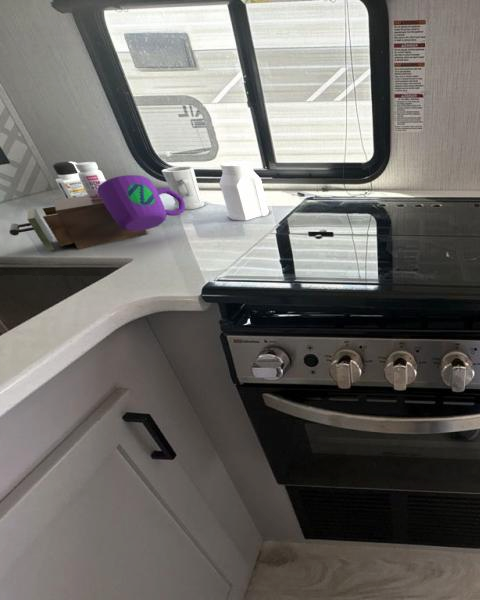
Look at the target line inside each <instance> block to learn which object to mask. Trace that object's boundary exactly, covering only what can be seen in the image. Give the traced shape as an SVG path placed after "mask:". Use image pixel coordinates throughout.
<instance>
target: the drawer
mask: <svg viewBox="0 0 480 600" xmlns="http://www.w3.org/2000/svg"><path fill="white" fill-rule="evenodd" d="M41 209H42V211H43V212H44V215H42V217H41V216H40V214H39V212H38V211H37V209H36V207H31V208H27V217H26V219H27V221H28V222H26V223H20V224H18V223H11V224H10V227H9V234H10V235H11V236H19V234H20V233H26V232H31V231H34V232H35V234H36V236H37V237H38V238H39V240H40V242H41V243H42V245H43V246H44V248H45V250H46V251H47V252H50V251H54V250H55V246H54V239H53V238H55V240H56V241H57V243H58V244H59V246H60V247H63V246H67V245H72V244H75V243H74V241H73V240H72V238H71V236H70V234H69V233H68V231H67V229H66V227H65V226H64V224H63V222H62V221H61V219H60V217H59V215H58V214H57V212H56V208H55V205H52V206H46V207H42V208H41ZM42 218H43V219H42ZM43 220H44V221H43ZM45 223H46V224H45ZM47 226H48V227H47ZM48 228H49V229H50V230H49V229H48ZM50 231H51V232H50ZM51 233H52V234H53V236H52V234H51Z"/></svg>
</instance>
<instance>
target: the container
mask: <svg viewBox="0 0 480 600" xmlns="http://www.w3.org/2000/svg"><path fill="white" fill-rule="evenodd" d="M76 163H77V162H76V161H60V162H55V163H53V165H52V168H53V169H54V171H55V173H56V175H57V177H58V178H56V179H55V182H56V184H57V186H58V187H59V190H60V192H61V193H62V195H63V197H64V199H67V198H73V197H80V196H87V195H88V194H87V192H86V190H85V188H84V186H83V184H82V182H81V180H80V178H79V176H78V173H79V172H80V171H78V169H77V168H76V166H75V164H76Z"/></svg>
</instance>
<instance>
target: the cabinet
mask: <svg viewBox="0 0 480 600" xmlns="http://www.w3.org/2000/svg"><path fill="white" fill-rule="evenodd" d="M53 203H54V206H55V208H56V212H57V214H58V215H59V217H60V219H61V221H62V222H63V224H64V226H65V227H66V229H67V231H68V233H69V234H70V236H71V238H72V240H73V241H74V243H73V244H74V245H75V247H76V248H77V249H78V250H79V249H85V248H89V247H92V246H93V247H95V246H98V245H102V244H107V243H112V242H116V241H117V242H118V241H121V240H125V239H126V240H127V239H129V238H134V237H138V236H139V237H140V236H144V235H147V234H148V233H147V230H141V231H129V230H125V229H123V228H121V227H120V226H119V225H118V224H117V223H116V222H115V220H114V219H113V218H112V216H111V215H110V213H109V211H108V210H107V208H106V206H105V205H104V203H103V201H102V199H100V200H92V199H90V198H89V196H88V195H87V196H80V197H73V198H67V199H66V198H60V199H54V200H53Z"/></svg>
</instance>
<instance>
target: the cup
mask: <svg viewBox="0 0 480 600" xmlns="http://www.w3.org/2000/svg"><path fill="white" fill-rule="evenodd" d="M161 173H162V175H163V177H164V179H165V181H166V183H167V186H168V189H170V190H172V191H174V192H175V193H177V194H178V195H180V196H181V197H182V198H183V200H184V203H185V210H184V211H189V210H196V209H199V208H203V207H204V206H205V204H206V203H205V199H203V198H202V195H201V192H200V188H199V186H198V181H197V177H196V173H195V169H194V167H193V166H174V167H168V168H164V169H162V170H161ZM172 198H173V200H174V203H173V204H174V207H175V209H176V210H177V209H179V202H178V200H177V199H175V198H174V197H172Z"/></svg>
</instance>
